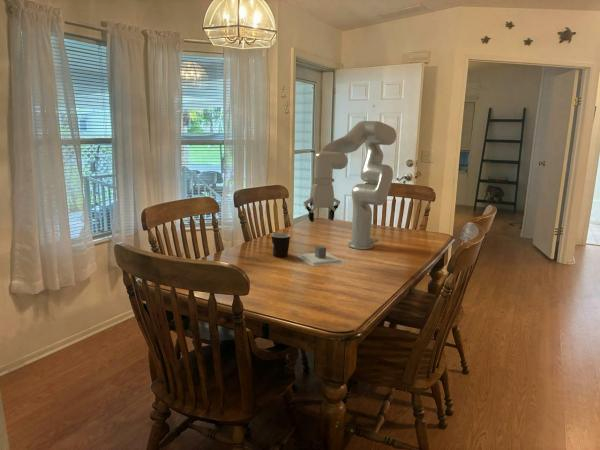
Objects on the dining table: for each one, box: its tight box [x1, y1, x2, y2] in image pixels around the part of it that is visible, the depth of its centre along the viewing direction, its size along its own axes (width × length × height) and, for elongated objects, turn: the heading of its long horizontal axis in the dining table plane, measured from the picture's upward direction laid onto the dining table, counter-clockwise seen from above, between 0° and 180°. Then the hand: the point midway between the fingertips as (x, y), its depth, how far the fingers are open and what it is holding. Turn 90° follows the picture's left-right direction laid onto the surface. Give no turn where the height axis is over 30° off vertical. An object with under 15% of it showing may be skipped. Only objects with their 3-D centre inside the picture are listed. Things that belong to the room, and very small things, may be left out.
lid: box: [300, 245, 341, 265], centre depth 199 cm, size 13×13×6 cm
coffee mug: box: [270, 232, 291, 259], centre depth 203 cm, size 12×9×10 cm
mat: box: [297, 255, 345, 267], centre depth 199 cm, size 16×16×1 cm
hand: (321, 220), depth 195 cm, fingers open, 9 cm apart
